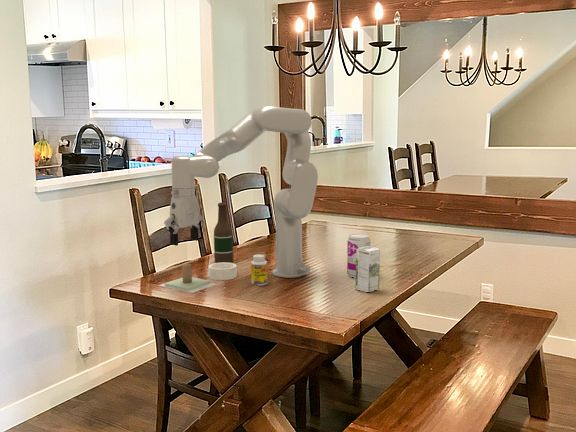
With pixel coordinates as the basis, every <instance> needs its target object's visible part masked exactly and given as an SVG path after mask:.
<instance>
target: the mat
mask: <svg viewBox="0 0 576 432" xmlns="http://www.w3.org/2000/svg"><path fill="white" fill-rule="evenodd" d="M165 283H166V282H165ZM165 283H161V284H159V285H158V287H159V286H160V287H164V288H169V289H172V290H179V291H182V292H186V293H191V294H195V292H196V293H197V292H199V291H201V290H204V289H207V288H210V287H213V286H216V285H217V283H213V282H210V284H207V285H204V286H202V287H199V288H196V289H193V290H190V291H185V290H180V289H175V288H171V287H166V286H165Z"/></svg>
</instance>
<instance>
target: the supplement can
mask: <svg viewBox="0 0 576 432" xmlns="http://www.w3.org/2000/svg"><path fill="white" fill-rule="evenodd" d="M346 245H347V249H346V250H347V257H346V259H347V262H346V263H347V265H346V266H347V267H346V270H347V271H346V274H347V276H348V277H349V276H350V277H349V278H351V277H355V278H354V279H356V249H358V248H362V247H366V246H371V238H370V236H369V235H368V234H365V233H353V234H349V235H348V238H347V243H346Z"/></svg>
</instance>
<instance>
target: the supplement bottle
mask: <svg viewBox="0 0 576 432" xmlns="http://www.w3.org/2000/svg"><path fill="white" fill-rule="evenodd" d="M252 258H253V259H252V260H251V262H250V272H251V273H250V274H251V276H250V278H251V279H250V281H251V284H252V285H256V286H257V287H261V286H262V287H263V286H266V285H267V283H268V262H267V260H266V258H265V254H254V255H252Z"/></svg>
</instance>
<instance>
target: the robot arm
mask: <svg viewBox="0 0 576 432" xmlns="http://www.w3.org/2000/svg"><path fill="white" fill-rule="evenodd" d="M312 124H313V121H312V117H311V115H310V113H309V112H308V111H306V110H305V109H302V108H301V109H300V108H289V107H280V106H273V105H259V106H256V107H255V108H253V109H251V110H250V111H249V112H248V113H247V114H245V116H243V117H242V118H241V119H240V120H238V121H237V122H236V123H235V124H234V125H232V126H231V127H230V128H229V129H228V130H226V131H224V132H223V133H222V134H220V135H219V136H217V137H216V138H214V139H212V140H211V141H210V142H208V143H207V144H206V145H204V146H203V147H202V148H201V149H200V150H198V151H197V152H196V153H195V154H193V156H190V155H176V156H173V157H172V158H171V185H172V186H171V187H172V189H171V190H172V191H170V194H171V195H172V197H171V199H170V204H169V205H170V206H169V217H168V218H166V220H164V226H165V229H166V231H167V232H168V233H169V244H170V245H172V246H178V245H179V234H178V231H179V230H180V229H182V228H188V227H191V228H190V240H191V241H194V242H195V241H196V242H197V241H199V229H201V228H200V226H201V225H202V220H203V218H204V216H203V214H201V213H200V208H199V202H198V197H197V196H196V190H195V189H196V188H195V187H196V186H195V185H196V180H195V178H205V179H210V178H212V177H215V176H216V175H217V174H218V172H219V170H220V165H219V164H220V163H219V162H220V161H222V160H223V159H225V158H226V157H229V156H230V155H233V154H236V153H239V152H241V151H244V150H245V149H246V148H247V147H248V146H251V144H252V143H253V142H254V141H255V140H256V139H258V138H259V137H260V136H261V135H262V134H263V133H265V132H274V133H282V134H284V135H285V137H286V141H287V145H286V147H287V148H286V155H285V157H284V158H285V159H284V163H283V170H282V178H283V180H284V182H285V183H286V184H287V185H290V188H283V189H280V190H279V191H277V193H276V194H275V196H274V199H273V209H274V215H275V216H274V217H275V237H276V238H275V241H276V244H275V245H276V246H275V247H276V249H275V250H276V251H275V252H276V268H273V269H272V275H273V276H276V277H278V278H288V279H289V278H290V279H291V278H300V277H303V276H306V275H307V274H308V273H310V271H311V266H308V265H306V264H305V261H303V222H302V219H304V218H306V217H308V215H309V214H310V213H311V212H312V211H311V210H312V208H313V206H314V200H315V197H316V196H315V195H316V192H317V187H318V181H319V176H318V175H319V174H318V170H317V168H316V166H315V165H314V163H312V162H310V158H311V157H310V155H311V150H312V149H311V148H312V141H311V135H310V132H309V130H310V129H311V127H312Z"/></svg>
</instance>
